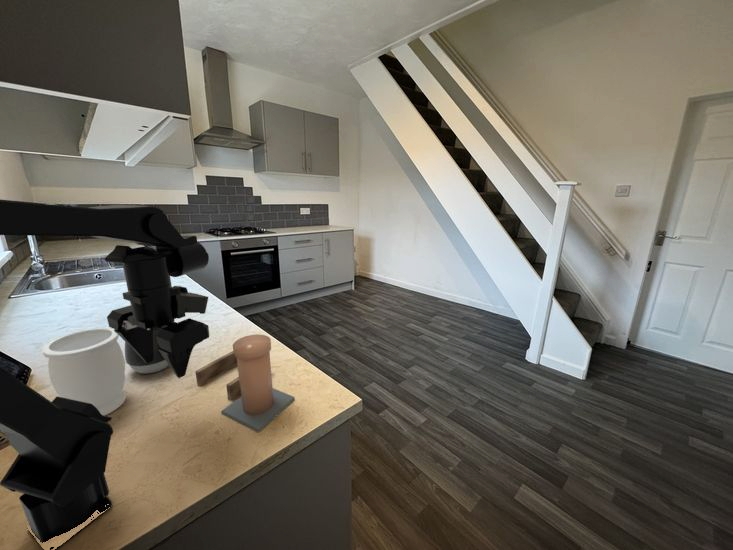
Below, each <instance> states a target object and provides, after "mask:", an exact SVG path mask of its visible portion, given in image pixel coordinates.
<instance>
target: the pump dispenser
mask: <svg viewBox="0 0 733 550" xmlns="http://www.w3.org/2000/svg"><path fill="white" fill-rule="evenodd" d="M158 333H159V331H157V330H154V331H153V347H154V360H153V361H152V362H150V363H146V362H145V361H144V360H143V359H142V358H141V357H140V356H139V355H138V354H137V353H136V352H135V351H134V350H133V349H132V348H131V347H130V346H129V345H128V344H127V343H126V342H125V341H124V361H125V364H126V365H127V364H128V365H129V367H130V368H131V369H132V370H133V371H135V372H137V373H140V374H152V373H157V372H160V371H162V370H164V369H166V368H167V367H170V366H169V365H168V363H167V362H166V360H165V359H164V357H163V356H162V354H161V353H160V352H159V350H158V349H159V348H161V347H160V346H159V344H158V343H157V338H156V336H157V334H158Z"/></svg>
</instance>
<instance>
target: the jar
mask: <svg viewBox="0 0 733 550" xmlns="http://www.w3.org/2000/svg"><path fill="white" fill-rule="evenodd" d="M114 330H115V329H113V328H111V327H96V328H89V329H84V330H78V331H74V332H71V333H67V334H65V335H62V336H59V337H57V338H55V339H53V340H51V341H50V342H47V343H46V344H45V345H43V347H42V349H41V351H42V354H43V356H44V357H45V358H47V359H48V361H47V363H48V364H47V368H48V369H47V370H48V374H49V376H48V377H49V379H50V383H51V385H52V386H53V389H54V391H56V393H57V395H58V397H63V398H67V399H72V400H77V401H81V402H86V403H91V404H92V405H94V406H95V407H96V408H97V409H98V411H99V412H100V413H101V414H102V415H103V416H107V415H109V414H110V413H113V412H115V410H117V409H118V408H120V407H121V406H122V405H123V404H124V403H125V401H126V399H127V395H126V393H125V392H124V391H123V390H124V387H125V383H126V373H125V372H126V365H125V364H126V360H125V355H124V353H123V350H122V348H121V345H120V344H119V343H118V340H119V337H120V336H119V335H118V334H117V333H115V331H114Z"/></svg>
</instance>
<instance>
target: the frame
mask: <svg viewBox="0 0 733 550" xmlns="http://www.w3.org/2000/svg"><path fill="white" fill-rule="evenodd" d="M234 365H235V366H236V365H237V358H236V357H235V356H234V353H233V350H232V351H230V352H228V353H227V354H224V355H222V356H221V357H219V358H217V359H216V360H213V361H212V362H210V363H208V364H206V365H204V366H202V367H200V368H198V369H197V370H195V371H194V372H195V378H196V385H197V386H200V387H201V386H203V385H204V384H206V383H207V382H210V381H211V380H213V379H214V378H216V377H217V376H219V375H221V374H223V373H225V372H226V371H228V370H230V369H232V368H233V367H235V366H234ZM226 392H227V393H226V395H227V400H229V401H232V400H234V399H235V398H236V397H238V396H240V395H241V390H240V382H239V376H237V377H236V378H234V379H233V380H231V381H230V382H228V383H226Z"/></svg>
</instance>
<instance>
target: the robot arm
mask: <svg viewBox="0 0 733 550" xmlns="http://www.w3.org/2000/svg"><path fill="white" fill-rule="evenodd" d="M0 236H36V237H37V236H38V237H39V236H41V237H42V236H45V237H46V236H47V237H49V236H50V237H51V236H54V237H91V238H96V239H97V238H98V239H103V240H108V241H113V242H120V243H133V244H136V245H138V246H139V247H133V248H132V247H131V246H130V245H120V244H116V245H115V247H114V249H113V250H112V251H111V252H109V253H108V254H107V255H106V256H105V257H104V261H105V263H111V264H112V263H113V264H122V269H123V273H124V278H125V283H126V288H127V291H126V292H122V298H123V300H124V301H129V303H130V305H127V306H123V307H120V308H116V309H112V310H111V311H110V312H109V314H108V315H107V317H106V319H107V324H108V328H112V329H115V330H114V331H115V333H117V334H118V335H119V337H120V338H121V339H122V340H123V342H124V343H125V342H126V343H127V344H128V345H129V346H130V347H131V348H132V349H133V350H134V351H135V352H136V353H137V354H138V355H139V356H140V357H141V358H142V359H143V360H144V361H145V362H146V363H150V362H152V361H153V360H154V347H153V331H154V330H157V331H159V333H158V334H157V336H156V338H157V343H158V344H159V346H160V347H161V348H159V349H158V350H159V352H160V353H161V354H162V356H163V357H164V359H165V360H166V362H167V363H168V365H169V366H168V367H169V368H170V369H171V371H172V372H173V374H175V377H176V378H178V379H181V378H183V377H185V376H186V374H187V369H188V366H189V361H190V358H191V354H192V352H193V349H194V348H195V346H197V345H198V344H200V343H202V342H203V341H205V340H207V339H209V338H210V336H211V335H210V330H209V328H210V327H209V325H208V324H206V323H205V322H202V321H199V320H196V319H193V318H187V319H184V320H180V321H179V322H176V321H175V320H176V319H182V318H185V317H186V314H188V313H189V314H192V313H193V314H196V313H197V314H198V313H199V314H206V311H207V306H208V301H209V296H206V295H202V294H199V293H194V292H189V291H188V288H187V287H184V286H180V285H173V284H172V279H171V277H172V278H178V277H182V276H185V275H188V274H191V273H194V272H198V271H201V270H203V269H205V268H206V267H207V266H208V264H209V260H210V259H209V256H210V255H209V253H208V252H207V249H206V248H205V247H204V245H202V243H200V242H198V236H196V235H189V234H187V235H182V234H181V233H180V232H179V231H178V230H177V229H176V227H175V226H174V225H173V224H172V222H171V221H170V220H169V219H168V217H167V215H166V213H165V212H164V210H163V209H162V208H160V207H158V206H153V205H133V204H131V205H130V204H112V205H97V206H91V207H84V206H72V205H63V204H53V203H52V204H51V203H41V202H31V201H21V200H19V201H18V200H11V199H10V200H9V199H0ZM153 247H155V248H153ZM172 285H173V286H172ZM112 419H113V417H111V416H107V415H105V416H103V415H102V414H101V413H100V412H99V411H98V409H97V408H96V407H95V406H94V405H92V404H91V403H86V402H81V401H77V400H72V399H67V398H63V397H59V395H58V396H55V398H54V399H53V400H52V401H51V400H50V399H48V398H47V397H45V396H43V395H42V394H41V393H39V392H38V391H36V390H35V389H33V388H32V387H31V386H29V385H28V384H26V383H24V382H23V381H21V380H20V379H18V377H15V376H14V375H13V374H11V373H9V372H8V371H7V370H6V369H3V368H2V367H1V366H0V431H1V432H3V433H4V434H5V435H6V437H7V440H8V442H9V444H10V446H11V448H13V449H14V450H15V452H17V453H18V454H17V456H16V457H15V459H14V461H13V463H12V464H11V465H10V466H9V468H8V470H7V471H6V473H5V475H4V476H3V478H2V479H1V481H0V486H1V487H3V488H4V489H6V490H8V491H10V492H14V493H15V492H17V493H19V494H22V495H20V496H19V501H20V504H21V506H22V509H23V511H24V515H25V517H26V519H27V521H28V522H27V523H28V524H29V525H30V527H31V530H32V532H33V533H34V534H35V536H36V537H37V538H38V539H39V540H40V542H42V543H43V542H46V541H48V540H49V539H51V538H53V537H55V536H59V535H61V534H63V533H66V532H68V531H70V530H71V529H73V528H75V527H77V526H78V525H80V524H82V523H83V522H85V521H86V520H87V519H88V518H89V517H91V515H92V514H93V513H94V512H95V511H96V510H98V511H99V512H100V513H101V512H103V511H105V510H106V509H108V508H109V507H111V505H112V506H113V503H112V501H111V500H110V499H109V498H108V497H107V496H108V495H109V493H110V490H109V487H108V483H107V479H106V475H105V473H106V470H107V468H106V467H107V461H108V457H109V456H108V455H109V449H110V443H111V439H112V436H113V433H114V429H113V427H112V425H111V424H110V423H108V422H110V421H112ZM107 504H109V505H108V506H106V507H105V505H107ZM111 508H112V507H111ZM97 513H98V512H97ZM98 514H99V513H98ZM92 516H93V515H92ZM93 518H94V517H93ZM91 520H92V519H91Z"/></svg>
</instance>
